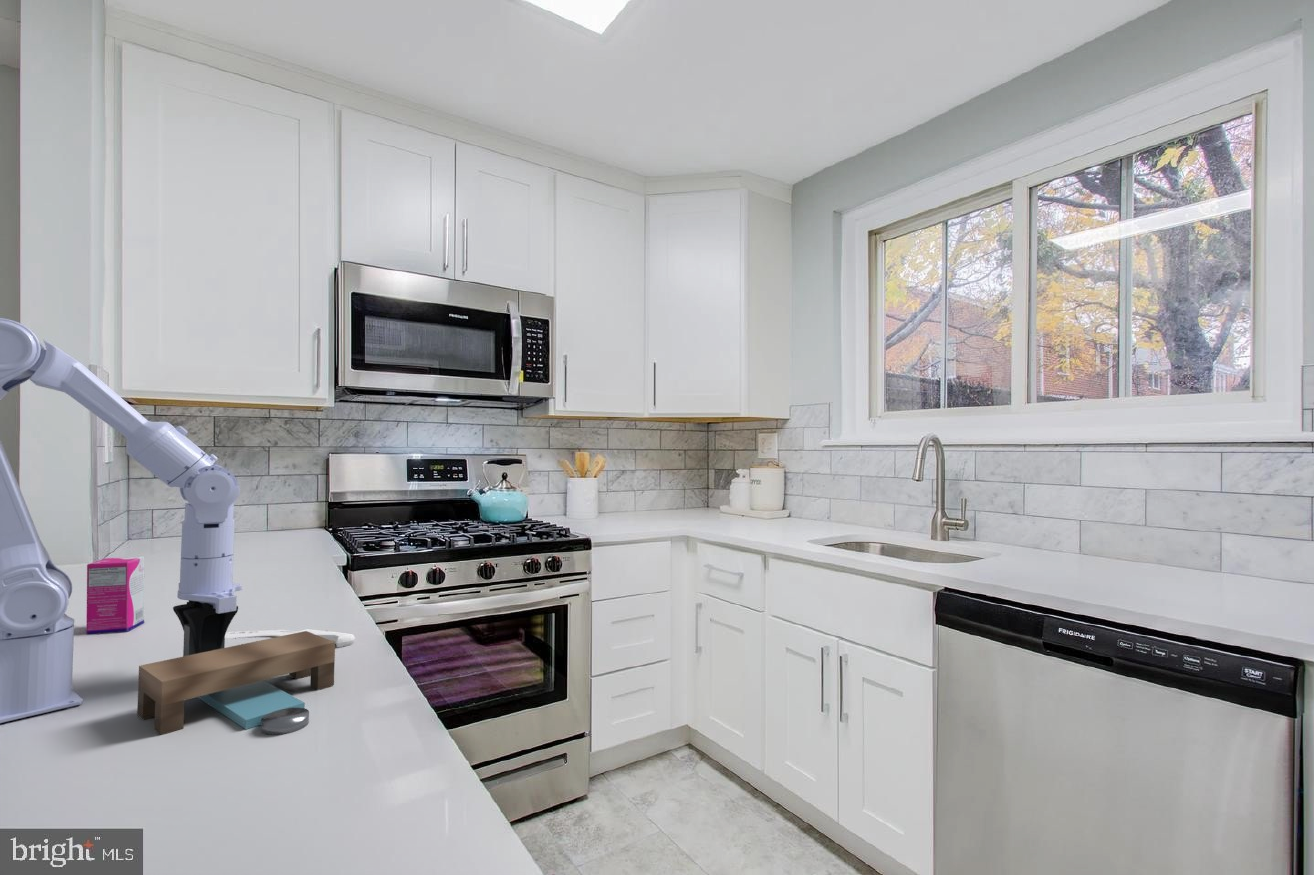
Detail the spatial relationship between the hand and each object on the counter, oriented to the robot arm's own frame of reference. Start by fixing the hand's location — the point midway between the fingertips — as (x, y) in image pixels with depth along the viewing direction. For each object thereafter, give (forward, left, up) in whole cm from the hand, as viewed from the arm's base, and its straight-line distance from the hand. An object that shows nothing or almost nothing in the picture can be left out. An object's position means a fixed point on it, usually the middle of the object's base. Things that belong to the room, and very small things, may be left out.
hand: (204, 658), depth 82 cm
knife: (+12, +12, -3) cm, 17 cm away
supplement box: (-1, +36, -2) cm, 37 cm away
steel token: (0, -24, -2) cm, 24 cm away
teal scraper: (0, -11, -2) cm, 11 cm away
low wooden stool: (0, -13, -2) cm, 13 cm away
